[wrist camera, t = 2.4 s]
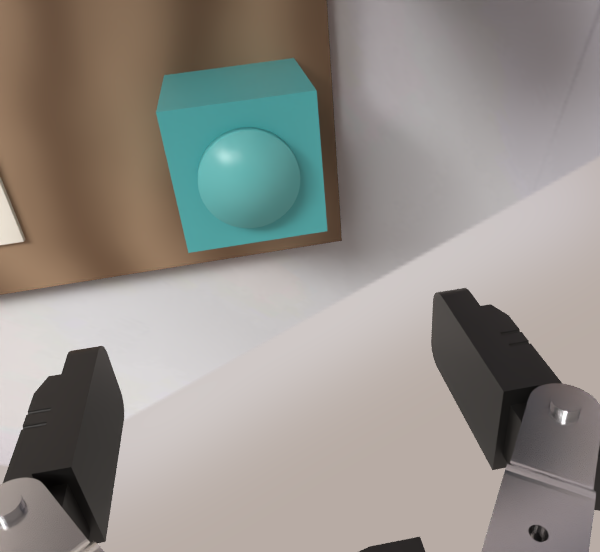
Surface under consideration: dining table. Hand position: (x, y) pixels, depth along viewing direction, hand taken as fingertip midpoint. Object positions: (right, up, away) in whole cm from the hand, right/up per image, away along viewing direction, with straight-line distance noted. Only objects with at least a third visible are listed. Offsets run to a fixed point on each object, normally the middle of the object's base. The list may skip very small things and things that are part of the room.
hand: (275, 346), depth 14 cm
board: (-10, +8, +15) cm, 20 cm away
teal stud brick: (-2, +9, +14) cm, 17 cm away
